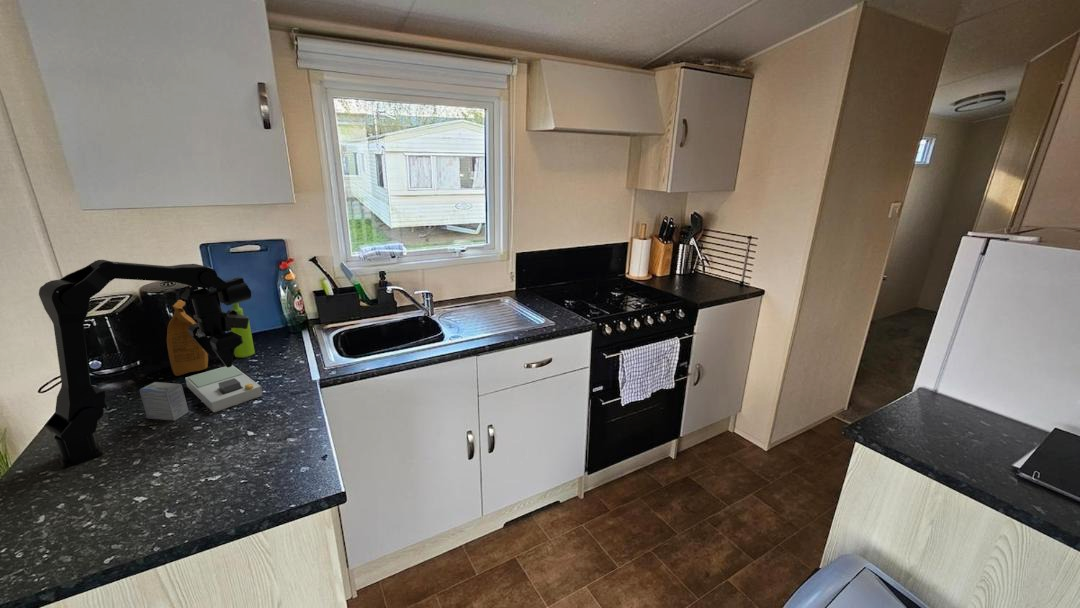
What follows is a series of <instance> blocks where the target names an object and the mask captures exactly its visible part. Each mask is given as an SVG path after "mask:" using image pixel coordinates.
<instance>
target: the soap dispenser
mask: <svg viewBox="0 0 1080 608" xmlns="http://www.w3.org/2000/svg"><path fill="white" fill-rule="evenodd" d="M239 303H240V302H239ZM239 303H235V304H232V308H231V309H230V310H234V311H236V312H237V314H240V315H244V310H243V308H242V307H240V304H239ZM244 316H245V315H244ZM250 323H251V322H250V321H249V322H248V327H247V329H243V328H231V330H230V331H229V332H231V331H232V332H234V333H236V334H238V335H240V336H242V340H243V343H242V344H240V345H239V346H237V347H236V348H235V350H234V354H233V355H234V357H235V358H247V357H251V356H252V355H254V354H255V353H256V352H255V346H254V345H255V344H254V339H253V335H252V329H251V324H250Z"/></svg>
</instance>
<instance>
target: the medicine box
mask: <svg viewBox="0 0 1080 608" xmlns="http://www.w3.org/2000/svg"><path fill="white" fill-rule="evenodd" d="M139 393H140V397H141V401H142V404H143V408H144V413H145V415H146V418H147V419H151V420H163V421H164V420H165V421H176V420H179V419H180V418H181V417H183V416H184V415H186V414H188V413H189V412H190V411H189V408H188V404H187V400H186V397H185V393H184V388H183V386H182V384H181V383H173V382H172V383H171V382H161V381H160V382H159V381H154V382H152V383H150V384H148V385H145V386H144V387H141V388H140V389H139Z"/></svg>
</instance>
